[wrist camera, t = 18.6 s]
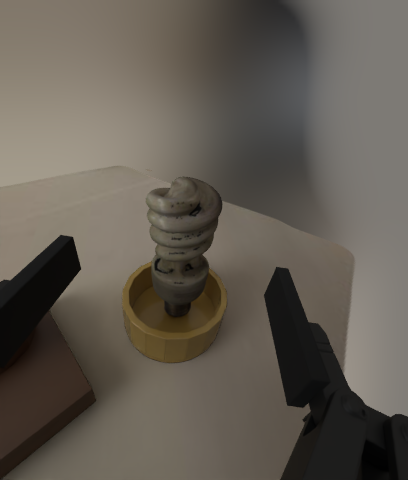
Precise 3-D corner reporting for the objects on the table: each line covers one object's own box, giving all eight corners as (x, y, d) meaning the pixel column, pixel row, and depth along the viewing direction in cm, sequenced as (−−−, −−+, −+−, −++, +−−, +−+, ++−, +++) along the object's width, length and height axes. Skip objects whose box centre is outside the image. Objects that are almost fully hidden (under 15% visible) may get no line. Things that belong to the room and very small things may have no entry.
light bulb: (162, 346, 20) (171, 201, 12) (139, 304, 24) (132, 168, 15) (209, 319, 24) (243, 189, 15) (182, 286, 27) (197, 163, 18)
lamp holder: (238, 318, 25) (247, 295, 22) (166, 389, 18) (168, 367, 16) (179, 269, 30) (181, 246, 28) (106, 310, 23) (101, 285, 21)
